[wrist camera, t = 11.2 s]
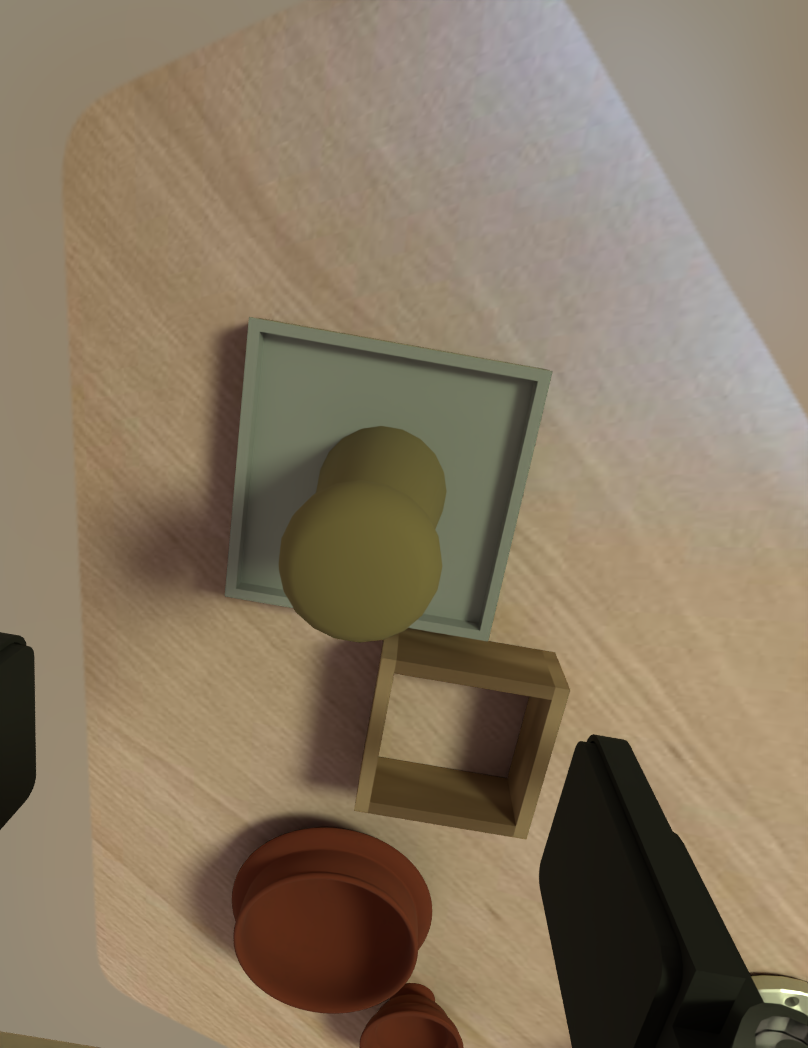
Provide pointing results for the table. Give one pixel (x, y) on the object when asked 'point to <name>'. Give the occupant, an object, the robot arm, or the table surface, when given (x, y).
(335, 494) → the olive pawn
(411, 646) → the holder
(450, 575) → the tray
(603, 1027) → the robot arm
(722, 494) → the table surface
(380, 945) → the pottery
